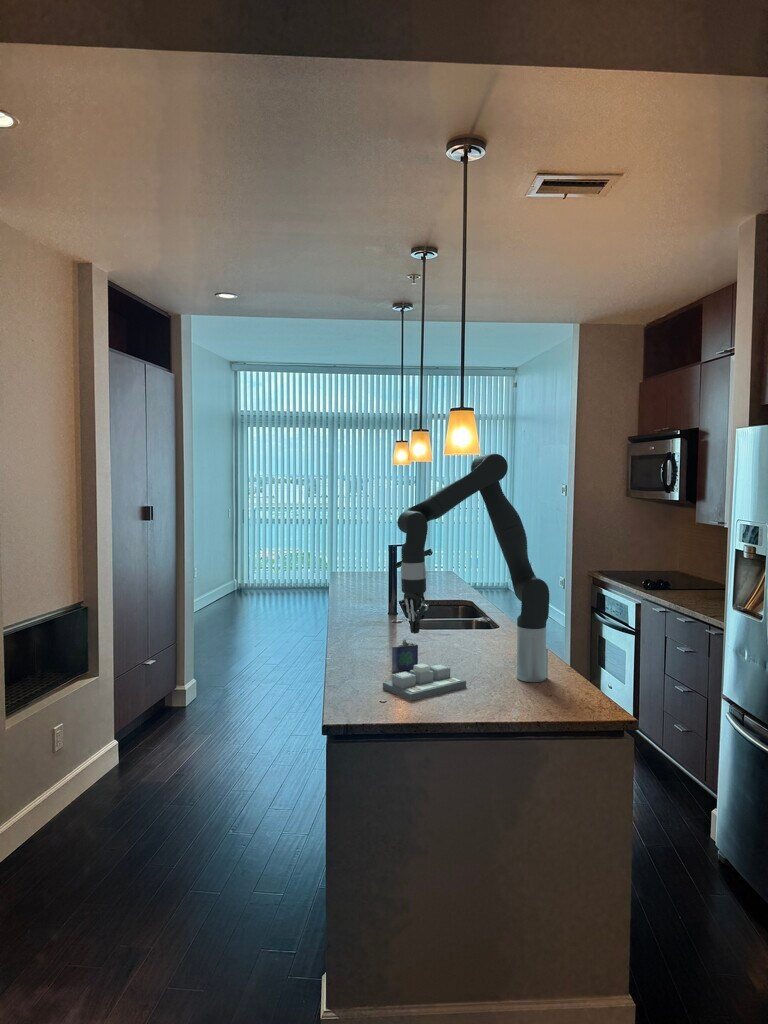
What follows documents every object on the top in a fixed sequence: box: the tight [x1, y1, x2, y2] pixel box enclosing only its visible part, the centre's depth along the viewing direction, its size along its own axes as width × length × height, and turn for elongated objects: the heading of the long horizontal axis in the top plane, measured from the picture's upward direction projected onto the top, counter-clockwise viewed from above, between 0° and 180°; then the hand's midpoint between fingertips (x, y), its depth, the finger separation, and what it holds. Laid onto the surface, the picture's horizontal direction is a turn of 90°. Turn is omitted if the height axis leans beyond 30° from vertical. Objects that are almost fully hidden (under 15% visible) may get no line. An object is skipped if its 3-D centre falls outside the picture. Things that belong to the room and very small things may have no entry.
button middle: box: [414, 663, 431, 674], centre depth 210 cm, size 4×4×3 cm
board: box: [382, 663, 467, 702], centre depth 209 cm, size 22×14×5 cm, turn 126°
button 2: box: [430, 664, 448, 670], centre depth 214 cm, size 4×4×3 cm
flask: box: [391, 639, 419, 674], centre depth 227 cm, size 9×3×11 cm, turn 109°
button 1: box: [395, 672, 412, 678], centre depth 206 cm, size 4×4×3 cm
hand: (414, 632), depth 205 cm, fingers closed
